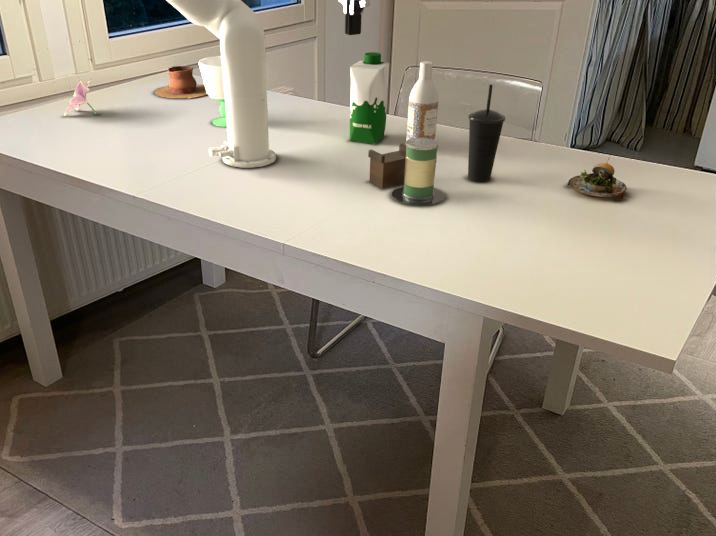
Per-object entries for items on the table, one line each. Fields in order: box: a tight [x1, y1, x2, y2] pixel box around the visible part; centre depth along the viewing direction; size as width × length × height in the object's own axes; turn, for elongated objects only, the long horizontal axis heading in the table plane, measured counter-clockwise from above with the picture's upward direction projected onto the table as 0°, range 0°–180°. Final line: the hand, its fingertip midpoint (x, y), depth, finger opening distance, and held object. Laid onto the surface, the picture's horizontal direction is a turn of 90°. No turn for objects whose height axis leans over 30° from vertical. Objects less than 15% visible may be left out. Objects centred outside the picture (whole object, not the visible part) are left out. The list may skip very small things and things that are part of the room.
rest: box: [368, 143, 406, 190], centre depth 154 cm, size 9×5×7 cm, turn 121°
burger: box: [567, 156, 628, 202], centre depth 149 cm, size 12×12×8 cm
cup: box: [198, 55, 227, 128], centre depth 190 cm, size 14×14×16 cm
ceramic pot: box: [154, 65, 208, 100], centre depth 220 cm, size 18×18×7 cm
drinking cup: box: [467, 84, 506, 184], centre depth 152 cm, size 8×8×20 cm
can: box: [402, 138, 440, 201], centre depth 146 cm, size 7×12×13 cm
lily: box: [63, 78, 98, 117], centre depth 199 cm, size 12×12×10 cm
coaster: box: [391, 186, 445, 207], centre depth 149 cm, size 11×11×1 cm
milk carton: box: [349, 51, 390, 145], centre depth 176 cm, size 9×9×20 cm
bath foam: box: [405, 60, 439, 142], centre depth 170 cm, size 7×7×20 cm
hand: (352, 33), depth 155 cm, fingers closed
